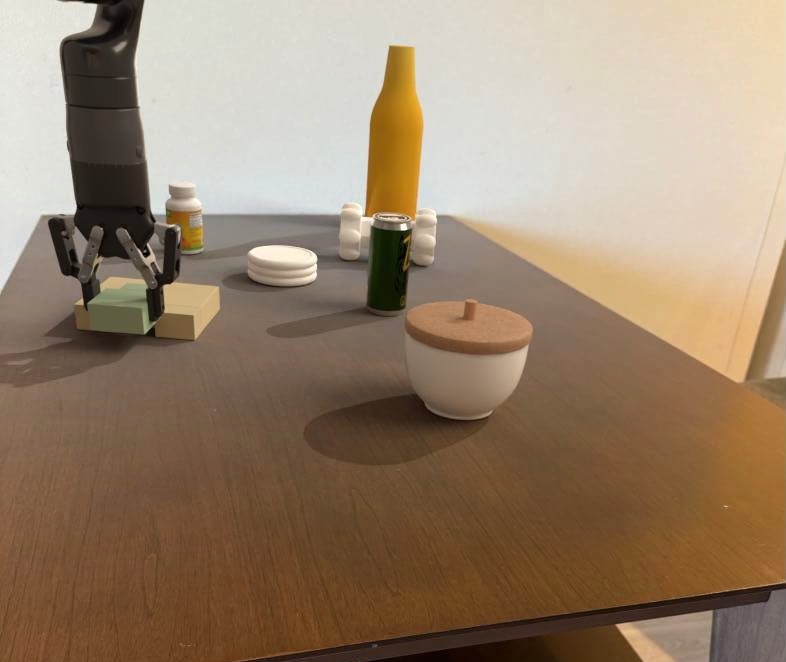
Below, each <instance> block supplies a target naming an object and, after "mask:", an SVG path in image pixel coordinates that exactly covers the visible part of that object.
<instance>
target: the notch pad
mask: <svg viewBox="0 0 786 662" xmlns="http://www.w3.org/2000/svg"><path fill="white" fill-rule="evenodd" d="M126 283H134V284H146V282H145V281H144V279H143V278H141V279H140V278H130V277H119V276H109V277H108V278H107V279H105V280H104V281H103V282H100V289H101V292H102V291H103V290H104V289H106V288H114V289H120V288H121V287H123V286H124V285H125V284H126ZM146 285H147V284H146ZM163 290H164V302H165V311H164V313H163V314H162V315H161V316H160V317H161V318H160V319H159V320H158V321H157V322H156V323H155V324H154V325H153V326H152V327H151V328H153V329H154V335H155V337H156V338H164V339H165V338H167V339H177V340H185V341H187V340H188V341H196V340H197V338H198V337H199V336H200V335H201V334H202V332H203V331H204V330H205V329H206V328H207V326H208V325H209V324H210V322H211V321H212V320H213V319H214V317H215V316H216V315H217V314H218V313H219V311H220V310H221V302H220V286H216V285H206V284H197V283H194V284H193V283H186V282H185V283H184V282H175V281H174V282H173V283H172V284H169V285H168V284H166V285H164V286H163ZM73 305H74V306H73V307H74V314H75V323H76V329H77V330H79V331H80V330H81V331H92V332H95V331H94V330H90V322H89V314H88V311H86V309H85V307H84V303H83V297H82V298H80V299H79V300H77V301H76V302H75V303H74V304H73ZM100 332H102V333H103V332H104V333H107V332H106V331H100ZM111 333H114V334H117V333H118V332H111Z"/></svg>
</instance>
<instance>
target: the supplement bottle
mask: <svg viewBox="0 0 786 662" xmlns="http://www.w3.org/2000/svg"><path fill="white" fill-rule="evenodd" d="M196 185H197V184H195V183H193V182H188V181H172V182H169V183H168V194H169V195H170V197H169V198H167V199H166V201H165V203H164V204H165V205H164V206H165V207H164V208H165V209H164V210H165V221H166V223H165V224H168V225H173V224H174V223H178V224H180V225H181V226H182V228H183V234H182V248H181V255H190V256H191V255H197V254H200V253H202V252H203V251H204V230H203V229H204V228H203V210H202V209H203V208H202V203H201V201H200V200H199V199H197V198H196V197H195V196H196V195H197V186H196Z"/></svg>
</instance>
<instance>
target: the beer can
mask: <svg viewBox="0 0 786 662" xmlns="http://www.w3.org/2000/svg"><path fill="white" fill-rule="evenodd" d="M412 228H413V227H412V224H411V217H409V216H407V215H403V214H397V213H377V214H374V215H373V220H372V222H371V224H370V242H369V248H368V261H367V278H366V279H367V280H366V297H365V298H366V299H365V305H366V307H367V310H368V312H369V313H371V314H374V315H376V316H377V315H378V316H381V317H396V316H400V315H402V314H403V313H404V312H405V311H406V308H407V302H408V300H407V299H408V288H409V274H410V264H411V253H412V252H411V240H412Z"/></svg>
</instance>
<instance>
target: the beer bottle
mask: <svg viewBox="0 0 786 662" xmlns="http://www.w3.org/2000/svg"><path fill="white" fill-rule="evenodd" d="M415 49H416V47H414V46H409V45H408V46H407V45H395V44H389V45H388V51H387V58H386V65H385V69H384V70H385V71H384V77H383V83H382V87H381V90H380V92H379V94H378V96H377V99H376V100H375V103H374V105H373V107H372V111H371V114H370V118H369V119H370V120H369V132H368V133H369V134H368V139H369V140H368V153H367V154H368V155H367V170H366V171H367V173H366V192H365V193H366V194H365V207H364V217H369V218H373V215H374V214H377V213H397V214H403V215H407V216H409V217H411V221H415V214H416V212H417V211H418V210H417V209H418V198H419V197H418V196H419V195H418V193H419V184H420V172H421V160H422V146H423V135H424V114H423V111H422V107H421V102H420V100H419V97H418V93H417V89H416V88H417V86H416V50H415Z"/></svg>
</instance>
